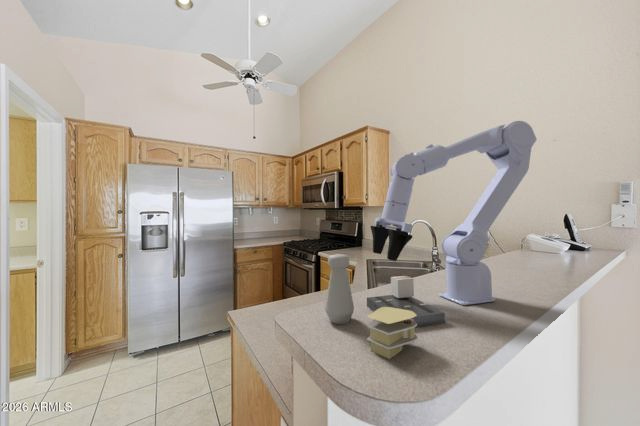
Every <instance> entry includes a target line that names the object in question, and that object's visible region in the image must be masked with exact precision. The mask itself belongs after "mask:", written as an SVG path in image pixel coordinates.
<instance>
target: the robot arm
mask: <svg viewBox="0 0 640 426" xmlns="http://www.w3.org/2000/svg"><path fill="white" fill-rule="evenodd" d="M537 139H538V138H537V137H536V134H535V132H534V130H533V127H532V126H531V125H530V124H529V123H528V122H525V121H523V120H515V121H512V122H510V123H509V124H507V125H506V124H502V125H501V124H500V125H498V126H496V127H491V128H489V129H487V130H484V131H481V132H479V133H477V134H473V135H471V136H469V137H466V138H464V139H462V140H460V141H457V142H455V143H452V144H450V145H447V146H442V145H440V144H436V145H433V144H429V145H427V146H426V147H425V149H422V150H420V151H418V152H409V153H408V154H407V153H406V154H405V155H403V156H401V157H400V158H399V159H398V160H397V161H395V162H394V164H393V165H392V167H391V169H390V175H391V178H390V183H389V185H388V187H387V188H388V189H387V193H386V197H385V202H384V206H383V209H382V212H381V213H382V214H381V217H375V221H374V225H370V230H371V236H372V253H374V254H376V255H377V254H378V255H382V252H383V251H384V247H385V245H386V242H387V240H388V249H387V252H386V254H387V255H386V256H387V257H386V259H387V260H389V261H393V262H396V261H397V260H398V258H399V257H400V254H401V253H402V251H403V249H404V248H405V247H406V246H407V244H408V243H409V242H410V241H411V240H412V239H413V235H411V234H412V231H413V224H412V223H407V222H405V221H406V217H407V212H408V209H409V204H410V201H411V197H412V193H413V186H414V182H415V178H416V177H418V176H423V175H426V174H428V173H430V172H434V171H436V170H439V169H442V168H444V167H446V166H447V164H448V162H449V160H451V159H453V158H457V157H460V156H463V155H466V154H469V153H472V152H474V151H477V152H479V153H480V154H484V153H485V155H486V156H487V157H488V158H489V159H490V161H491V162H492V163H493V164H494V165H495V167H496V168H497V172H496V174H495V175H494V176H493V178H492V180H491V181H490V182H489V184H488V185H487V186H486V188H485V190H484V191H483V193H482V194H481V195H480V197H479V199H478V200H477V201H476V203H475V205H474V206H473V208H472V210H470V212H469V214H468V216H466V219H465V220H464V221H463V222H462V223H460V225H459V224H458V226H456V227H455V228H454V230H453V231H452V232H451V233H449V234H447V235H446V236H445V237H444V238H443V239H442V241H441V246H440V247H441V251H442V252H443V254H445V256H446V258H445V275H446V277H445V278H446V292H440V293H438V296H439V297H442V298H444V299H447V300H449V301H452V302H454V303H456V304H459V305H461V306H467V305H475V304H483V303H491V302H492V303H493V302H496V298H495V297H494V298H493V289H492V285H493V284H492V273H491V269H490V268H489V266H488V265H486V263H484V262H482V260H483V258H484V257H485V253H486V248H487V247H486V246H487V245H488V243H489V242H490V237H489V235H488V231H489V229H491V226H492V225H493V223H494V222H495V221H496V219H497V218H498V216H499V215H500V213H501V212H502V210H503V209H504V208H505V206H506V204H507V203H508V202H509V200H510V198H511V197H512V195H513V194H514V193H515V191H516V190H517V188H518V186H519V185H520V183H521V182H522V180H523V179H524V178H525V176H526V175H527V173H528V171H529V168H530V163H531V162H530V160H531V154H532V147H533V146H534V145H535V143H536V142H537ZM391 225H392V226H391ZM409 233H410V234H409Z"/></svg>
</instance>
